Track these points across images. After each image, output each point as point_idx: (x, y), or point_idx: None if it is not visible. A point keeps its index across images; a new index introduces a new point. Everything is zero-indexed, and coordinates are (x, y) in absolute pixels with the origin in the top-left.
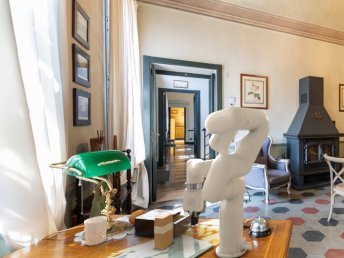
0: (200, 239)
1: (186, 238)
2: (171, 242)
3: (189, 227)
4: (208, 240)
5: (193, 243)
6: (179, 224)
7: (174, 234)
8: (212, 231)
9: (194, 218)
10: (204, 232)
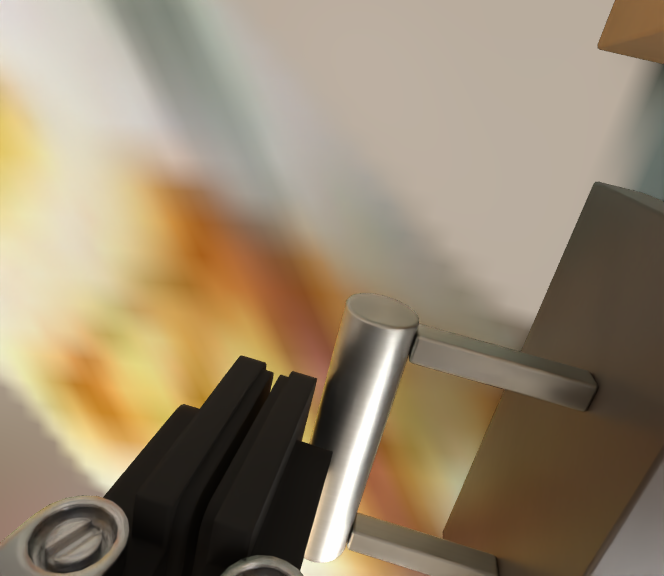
0: (167, 176)
1: (401, 219)
2: (620, 4)
3: (457, 506)
4: (38, 139)
5: (212, 34)
6: (619, 393)
7: (639, 195)
8: (122, 404)
9: (158, 478)
10: (212, 388)
